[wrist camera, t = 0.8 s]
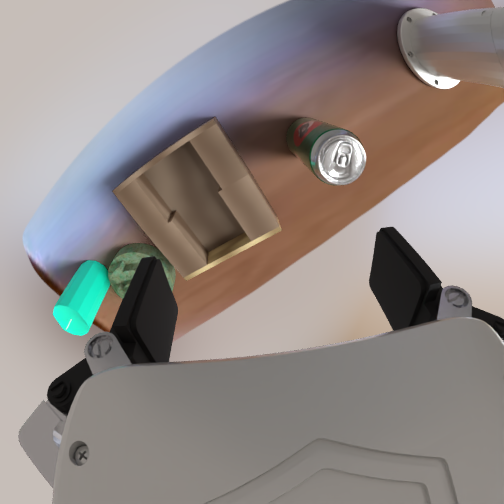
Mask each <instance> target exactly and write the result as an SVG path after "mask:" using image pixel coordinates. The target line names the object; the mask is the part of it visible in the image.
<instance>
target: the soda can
mask: <svg viewBox="0 0 504 504" xmlns="http://www.w3.org/2000/svg"><path fill="white" fill-rule="evenodd" d="M286 140H287V145H288V147H289V149H290V150H291V151H292V153H293V154H295V155H296V156H297V157H298V158H299V159H300V160H301V161H302V162H303V163H304V164H305V165H306V166H307V167H308V168H309V169H310V170H311V171H312V172H313V174H314V175H315V176H316V177H317V178H319V179H320V180H321V181H323V182H324V183H327V184H330V185H346V184H349V183H351V182H353V181H355V180H356V179H357V178H358V177H359V176H360V175H361V173H362V172H363V170H364V167H365V163H366V155H365V151H364V148H363V145H362V143H361V141H360V140H359V139H358V137H357V136H356V135H355V134H353V133H352V132H350V131H348V130H345V129H343V128H340V127H337V126H334V125H331V124H328V123H325V122H322V121H319V120H316V119H312V118H301V119H298V120H297V121H295V122H294V123H292V125H291V126H290V127H289V129H288V131H287V135H286Z"/></svg>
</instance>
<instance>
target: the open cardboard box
mask: <svg viewBox="0 0 504 504" xmlns="http://www.w3.org/2000/svg"><path fill="white" fill-rule="evenodd" d="M112 192H113V193H114V194H115V195H116V197H117V198H118V199H119V201H120V202H121V203H122V205H123V206H124V207H125V208H126V210H127V211H128V212H129V213H130V215H131V216H132V217H133V218H134V220H135V221H136V222H137V223H138V225H139V226H140V227H141V228H142V230H143V231H144V232H145V233H146V234H147V236H148V237H149V238H150V239H151V240H152V242H153V243H154V244H155V245H156V246H157V248H158V249H159V250H160V251H161V252H162V253H163V255H164V256H165V257H166V258H167V259H168V260H169V262H170V263H171V264H172V265H173V266H174V267H175V269H176V270H177V271H178V272H179V273H180V274H181V275H182V276H183V278H184V279H185V280H186V281H187V280H189V279H191V278H193V277H194V276H196V275H198V274H200V273H202V272H204V271H206V270H208V269H209V268H211V267H213V266H215V265H217V264H219V263H221V262H223V261H225V260H226V259H228V258H230V257H232V256H234V255H236V254H238V253H240V252H242V251H243V250H245V249H247V248H249V247H251V246H253V245H255V244H257V243H259V242H261V241H262V240H264V239H266V238H268V237H270V236H272V235H274V234H276V233H278V232H280V231H281V230H282V229H281V226H280V224H279V221H278V218H277V216H276V214H275V212H274V210H273V209H272V207H271V205H270V204H269V202H268V200H267V199H266V197H265V195H264V194H263V192H262V190H261V189H260V187H259V185H258V184H257V182H256V180H255V179H254V177H253V176H252V174H251V172H250V171H249V169H248V167H247V166H246V164H245V163H244V161H243V159H242V158H241V156H240V155H239V153H238V151H237V150H236V148H235V147H234V145H233V143H232V142H231V140H230V139H229V137H228V136H227V134H226V132H225V131H224V129H223V128H222V126H221V125H220V123H219V122H218V120H217V119H216V117H214V118H212V119H210V120H209V121H207V122H206V123H204V124H202V125H201V126H199V127H198V128H196V129H194V130H193V131H191V132H190V133H188V134H187V135H185V136H184V137H182V138H181V139H179V140H178V141H176V142H175V143H173V144H172V145H170V146H169V147H168V148H166V149H165V150H163V151H162V152H161V153H159V154H158V155H156V156H155V157H154V158H152V159H151V160H150V161H148V162H147V163H146V164H144V165H143V166H142V167H140V168H139V169H138V170H136V171H135V172H134V173H133V174H131V175H130V176H129V177H127V178H126V179H125V180H124V181H123V182H122V183H120V184H119V185H118V186H117V187H116V188H115V189H114V190H113V191H112Z"/></svg>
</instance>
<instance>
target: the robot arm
mask: <svg viewBox="0 0 504 504" xmlns="http://www.w3.org/2000/svg"><path fill="white" fill-rule="evenodd" d="M397 36H398V43H399V47H400V50H401V53H402V55H403V57H404V59H405V61H406V63H407V65H408V66H409V68H410V69H411V70H412V72H413V73H414V74H415V75H416V76H417V77H418V78H419V79H420V80H421V81H423V82H424V83H425V84H427V85H429V86H431V87H434V88H439V89H449V88H452V87H454V86H455V85H457V84H458V83H459V81H467V82H474V83H481V84H487V85H492V86H497V87H502V88H504V7H498V8H482V9H471V10H463V11H455V12H449V13H443V14H437V13H435V12H433V11H431V10H429V9H424V8H416V9H412V10H409V11H407V12H406V13H405V14H403V15H402V17H401V19H400V20H399V24H398V30H397ZM441 283H442V282H441V281H440V280H439V278H438V277H437V276H436V275H435V273H434V272H433V271H432V270H431V268H430V267H429V266H428V265H427V264H426V263H425V261H424V260H423V259H422V258H421V257H420V256H419V254H418V253H417V252H416V251H415V250H414V249H413V248H412V246H411V245H410V244H409V243H408V242H407V241H406V240H405V239H404V238H403V236H402V235H401V234H400V233H399V232H398V231H397V230H396V229H395V228H394V227H386V228H381V229H380V231H379V232H377V234H376V241H375V248H374V255H373V261H372V267H371V273H370V279H369V284H370V287H371V290H372V291H373V293H374V295H375V297H376V299H377V300H378V302H379V304H380V306H381V308H382V310H383V312H384V313H385V315H386V317H387V319H388V321H389V323H390V325H391V327H392V329H393V331H391V332H387V333H383V334H379V335H375V336H370V337H365V338H361V339H356V340H351V341H346V342H341V343H336V344H330V345H325V346H319V347H314V348H307V349H301V350H294V351H287V352H281V353H273V354H265V355H256V356H247V357H237V358H226V359H213V360H198V361H182V362H169V357H170V351H171V346H172V341H173V335H174V330H175V325H176V320H177V315H178V307H177V304H176V301H175V298H174V296H173V293H172V290H171V288H170V285H169V282H168V280H167V277H166V274H165V271H164V268H163V265H162V263H161V260H160V259H157V258H156V257H155V256H152V257H144V258H142V259H141V260H140V263H139V265H138V267H137V269H136V271H135V273H134V276H133V278H132V280H131V282H130V285H129V287H128V289H127V291H126V293H125V295H124V298H123V300H122V303H121V305H120V307H119V310H118V312H117V315H116V317H115V320H114V322H113V325H112V327H111V330H110V332H102V333H98V334H96V335H94V336H93V337H92V338H90V340H89V341H88V342H87V344H86V346H85V349H84V353H85V357H86V358H85V359H83V360H82V361H80V362H79V363H78V364H76V365H75V366H73V367H72V368H71V369H69V370H68V371H66V372H65V373H64V374H62V375H61V376H59V377H58V378H56V379H55V380H54V381H53V382H52V383H51V385H50V386H49V389H48V393H47V397H48V401H47V402H45V401H42V402H41V404H40V405H39V406H38V407H37V409H36V410H35V411H34V412H33V413H32V415H31V416H30V417H29V418H28V420H27V421H26V422H25V423H24V425H23V426H22V427H21V429H20V431H19V442H20V445H21V446H22V447H23V449H24V451H25V452H26V454H27V455H28V456H29V458H30V459H31V460H32V462H33V463H34V465H35V466H36V467H37V469H38V470H39V471H40V473H41V474H42V475H43V477H44V478H45V479H46V480H47V481H48V483H49V484H50V485H51V486H52V487H53V502H52V504H504V319H502V318H500V317H498V316H495V315H493V314H490V313H488V312H485V311H483V310H480V309H478V308H475V307H473V306H472V300H471V297H470V295H469V294H468V293H467V292H466V291H465V290H464V289H462V288H460V287H457V286H447V287H445V288H444V289H443V288H442V287H441Z"/></svg>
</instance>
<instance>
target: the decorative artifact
mask: <svg viewBox="0 0 504 504" xmlns="http://www.w3.org/2000/svg"><path fill="white" fill-rule="evenodd" d="M152 256H155V257H156V258H157V259H160V260H161V263H162V265H163V268H164V271H165V274H166V277H167V280H168V282H169V285H170V288H171V290H173V286H174V282H175V269H174V266H173V265H172V264H171V263H170V262H169V260H168V259H167V258H166V257H165V256H164V255H163V253H162V252H161V251H160V250H159V249H157V248H156V247H153V246H151V245H148V244H143V243H133V244H129V245H126V246H124V247H123V248H121V249H120V250H119V251H118V252H117V254H116V256H115V257H114V259H113V261H112V262H111V264H110V267H109V271H108V277H109V281H110V284H111V286H112V288H113V289H114V291H115V292H116V293H117V294H118V295H119V296H120V297H121V298H122V299H123V298H124V295H125V293H126V291H127V289H128V287H129V285H130V282H131V280H132V278H133V276H134V273H135V271H136V269H137V267H138V265H139V263H140V260H141V259H142V258H144V257H152Z"/></svg>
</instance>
